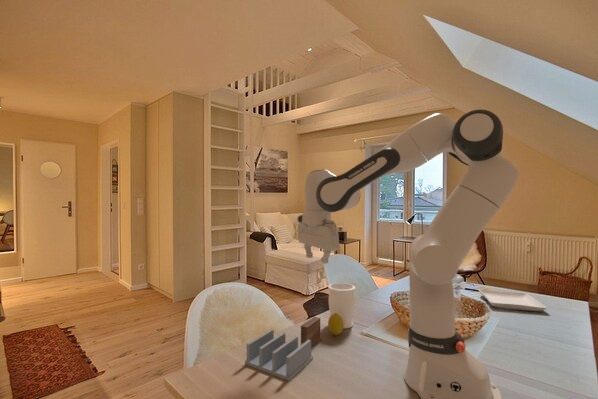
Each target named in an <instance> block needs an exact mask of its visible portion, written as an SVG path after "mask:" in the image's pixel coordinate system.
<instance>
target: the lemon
mask: <svg viewBox="0 0 598 399" xmlns="http://www.w3.org/2000/svg"><path fill="white" fill-rule="evenodd" d="M327 326H328V330H329V332H330V333H331V334H332V335H334V336H338V335H340V334H341V333H342V331H343V330H344V329H343V326H344V325H343V320H342V317H341V316H340V315H338V314H336V313H335V314H333V315H330V316H329V318H328V321H327Z"/></svg>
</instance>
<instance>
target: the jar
mask: <svg viewBox="0 0 598 399" xmlns="http://www.w3.org/2000/svg"><path fill="white" fill-rule="evenodd" d="M328 290H329V294H328V308H329V315H330V316H331V315H333V314H335V313H336V314H338V315H340V316H341V317H342V320H343V325H344V326H343V330H344V329H345V330H346V329H351V328H352V327H353V326H354V322H353V320H354V318H355V317H354V316H355V310H356V304H357V303H356V293H355V291H356V286H355V285H354V284H350V283H343V282H342V283H341V282H338V283H337V282H336V283H331V284H329V285H328Z"/></svg>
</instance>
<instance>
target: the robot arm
mask: <svg viewBox="0 0 598 399" xmlns="http://www.w3.org/2000/svg"><path fill="white" fill-rule="evenodd" d="M503 138H504V127H503V124H502V121H501V119H500V117H498V115H496V114H495V113H494V112H492V111H491V110H488V109H474V110H471V111H470V110H469V111H468V112H466V113H465V114H463V115H462V116H460V118H458V119H457V121H456V122H455V121H454V120H453V119H452V118H451V117H450V116H449V115H447V114H445V113H443V112H442V113H439V112H438V113H433V114H432V115H430V116H427V117H425V118H424V119H421V120H420V121H418V122H416V123H415V124H413V125H411V126H410V127H408V128H407V129H405V130H404V131H402V132H401V133H399V134H398V135H397V136H396V137H394V138H393V139H391V141H390V142H388V143H387V144H386V145H384V146H383V147H382V148H381V149H380V150H378V151H376V153H374V154H373V155H371V156H369V157H368V158H366V159H365V160H363V161H361V162H359V163H358V164H357V165H356V166H354V167H352V168H350V169H349V170H347V171H346V172H344V173H342V174H340V175H335V174H334V173H332V172H330V170H328V169H317V170H312V171H311V172H309V173H308V174H307V175H306V179H305V185H304V199H305V205H304V211H303V213H301V214H300V215H298V216H296V220H297V223H298V224H297V240H298V242H299V243H301V244H303V246H304V250H305V253H306V254H305V256H306V258H308V259H312V258H313V255H314V253H313V252H312V247H314V248H317V249H321V250H322V253H323V255H322V256H321V258H320V259H321V260H320V262H321V263H322V264H328V263H329V258H330V255H331V254H332V252H334V251H335V252H336V251H338V250H339V248H340V238H339V230H338V225H337V224H336V223H335V220H331V219H332V216H331V215H332V213H336V212H338V211H339V212H340V211H344V210H350V209H353V208H354V207H356V206H357V205H358V203H359V202H360V199H361V190H363V188H366V187H367V186H369V185H370V184H372V183H373V182H375V181H377V180H379V179H380V178H383V177H386V176H390V175H396V174H404V173H408V172H410V171H413V170H415V169H417V168H419V167H422V166H423V165H425V164H426V163H428V162H429V161H431V160H433V159H434V158H435V157H437V156H439V155H441V154H443V153H448V154H449V156H451V157H453V158H454V159H455V160H457V161H459V162H460V163H462V164H463V165H465V166H467V170H466V173H465V174H464V176H463V177H462V178H461V179H460V181H459V182H458V184H457V185H456V187H455V188H454V190H453V191H452V192H451V193H450V194H449V196H448V197H447V198H446V200H445V201H444V203H443V204H442V205H441V207H439V209H438V211H437V213H436V214H435V216H434V217H433V219H432V221H431V222H430V223H429V225H428V227H427V229H426V230H425V231H424V233H423V234H421V235H418V236H417V237H415V238H414V239H413V240H412V241H411V244H410V245H409V248H408V250H409V251H408V259H409V260H408V270H409V271H408V272H409V274H408V275H409V326H408V330H407V343H408V348H409V350H408V359H407V364H406V369H405V372H404V374H403V378H404V381H405V383H406V384H407V385H408V386H409V387H410V389H412V390H413V391H414V392H416V393H417V394H418V396H419V397H420V399H502V398H503V397H502V393H501V391H500V389H499V388H498V385H496V384H495V383H494V382H492V381H491V379H490V375H489V372H488V370H487V368H486V366H485V365H484V363H483V362H481V361H480V360H479V359H478V358H476V357H475V356H474V355H473V354H472V353H471V352H469V351H468V350H467V349H466V343H465V338H464V334H463V333H461V334H460V333H458V332H457V331H456V300H455V294H454V293H455V291H454V284H453V279H454V278H455V277H456V275H457V273H458V271H459V269H460V267H461V266H462V264H463V263H464V261H465V259H466V258H467V257H468V255H469V253H470V252H471V250H472V248H473V246H474V244H475V242H476V240H478V238H479V236H480V234H481V233H482V231H483V230H484V229H485V228H486V227H487V225H488V224H489V223H490V221H491V220H492V219H493V218H494V216H495V215H496V214H497V212H499V210H500V209H501V207H502V206H503V205H504V203H505V202H506V200H507V199H508V197H509V196H510V194H511V193H512V190H513V189H514V188H515V186H516V183H517V182H518V179H519V174H520V173H519V170H518V168H517V167H516V165H515V164H514V163H513V162H512V161H510V159H508V158H506V157H504V156H502V155H501V151H502V150H503Z"/></svg>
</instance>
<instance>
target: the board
mask: <svg viewBox="0 0 598 399" xmlns="http://www.w3.org/2000/svg"><path fill="white" fill-rule="evenodd" d="M307 340H311V348H312V347H313V346H314V347H315V346H316V345H317V344H319V343H320V342H321V318H320V317H317V316H312V318H310V319H309V320H307V321H306V322H304V323H303V324H302V325H300V346H301V345H302V344H303V343H305V342H306V341H307ZM314 347H313V348H314ZM313 348H312V349H313Z"/></svg>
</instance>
